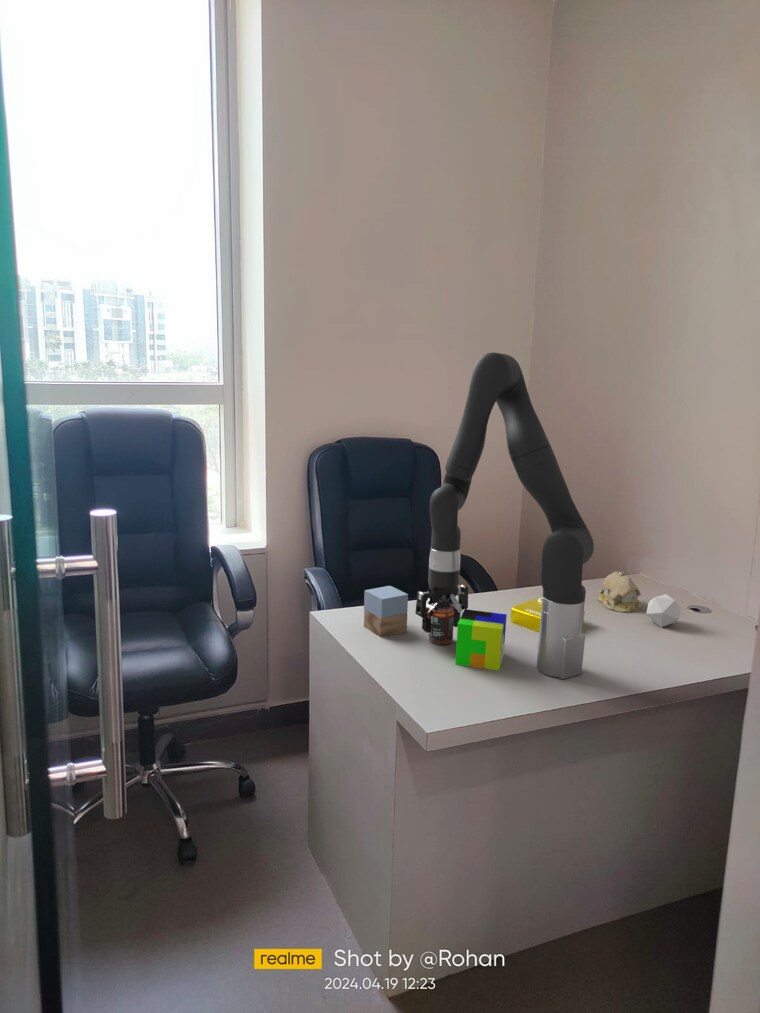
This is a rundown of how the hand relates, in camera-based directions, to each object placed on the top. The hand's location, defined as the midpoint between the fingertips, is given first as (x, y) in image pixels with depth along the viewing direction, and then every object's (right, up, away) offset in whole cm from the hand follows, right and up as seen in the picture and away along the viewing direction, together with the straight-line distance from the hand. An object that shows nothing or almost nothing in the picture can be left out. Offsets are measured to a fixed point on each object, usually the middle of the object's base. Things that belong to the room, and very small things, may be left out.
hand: (441, 628), depth 179 cm
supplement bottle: (0, -3, +1) cm, 3 cm away
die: (+61, -2, +17) cm, 64 cm away
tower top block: (-14, +4, +7) cm, 16 cm away
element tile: (+30, -1, +15) cm, 33 cm away
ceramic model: (+54, +1, +32) cm, 63 cm away
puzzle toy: (+8, -6, -9) cm, 14 cm away
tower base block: (-14, -1, +7) cm, 16 cm away
